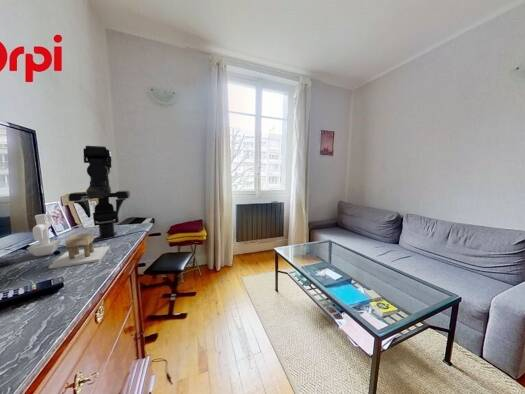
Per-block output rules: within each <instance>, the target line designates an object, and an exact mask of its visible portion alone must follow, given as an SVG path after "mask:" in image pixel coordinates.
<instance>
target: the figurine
mask: <svg viewBox="0 0 525 394" xmlns="http://www.w3.org/2000/svg"><path fill="white" fill-rule="evenodd" d="M34 219H35V222H36V225H35V226H33V227H32V236H33V240H34V241H35V242H34V243H33V244H32V245H30V246H28V247H27V248H26V250H27V251H29V252H30V253H31V254H32V255H34V256H35V257H37V256H39V257H40V256H46V255H51V254H54V252H56V251H57V250H58V248H59V245H60V243H61V242H62V239H53V240H51V239H50V232H49V228H51V227H52V216H51V214H49V213H41V214H36V215H34Z"/></svg>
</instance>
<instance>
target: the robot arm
mask: <svg viewBox="0 0 525 394" xmlns="http://www.w3.org/2000/svg"><path fill="white" fill-rule="evenodd" d="M83 163H84V164H89V165H88V166H87V168H86V174H87V175H88V176H89V179H90V181H89V186H88V187H87V189H86V191H80V192H71V193H69V194H68V202H73V204H78V205H79V206H80V207H81V208H82V210H83V212H84V213H85V215H86V217H88V219H89V218H91V209H90V201H89V200H93V199H97V200H98V203H97V204H95V206H94V212H92V217H93V224H94V225H93V226H94V227H97V226H98V233H99V235H98V236H97V237H96V239H100V240H101V239H107V238H114V237H115V236H116V235H117V234H118V232H116V231H115V224H117V223H119V221H120V220H119V214H120V213H119V212H120V211H121V206H122V204H123V202H124V201H126V200H127V199H129V198H130V197H131V193H130V191H129V190H117V191H116V192H112V189H111V185H110V179H109V175H110V173H111V168H112V153H111V152H110V150H109V149H107V147H106V146H104V145H103V146H101V145H85V148H83ZM110 198H116V199H115V208H114V205H113V204H112V203H111V202H110Z"/></svg>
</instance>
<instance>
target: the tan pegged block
mask: <svg viewBox="0 0 525 394" xmlns="http://www.w3.org/2000/svg"><path fill="white" fill-rule="evenodd" d="M94 240H95V238H94V233H93V232H91V233H78V234H72V235H70V236H68V238H66V239H65V240H64V244H65V248H67V252H69V259H74V258H75V255H77V254H80V253H79V250H80V247H79V246H83V250H84V253H85V257H89V256H90V253H92V252H94V249H93V248H94Z"/></svg>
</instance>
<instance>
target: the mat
mask: <svg viewBox="0 0 525 394" xmlns="http://www.w3.org/2000/svg"><path fill="white" fill-rule="evenodd" d="M93 249H94V252H92V253H90V256H89V257H85V253H84V249H79V253H80V254H77V255H75V258H74V259H69V252H68V251H66V252H64V253H63V254H62V255H61V256H60V257H59V258H57V259H56V260H54V262H52V263H51V264H50V265H49V266H48V269H49V270H50V269H56V268H64V267H70V266H76V265H77V266H78V265H81V264H82V265H83V264H89V263H90V264H91V263H96V262H100V261H101V260H102V258H103V257H104V256H105V254H107V252H108V251H109V249H110V246H108V245H107V246H100V247H99V246H98V247H93Z"/></svg>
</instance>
